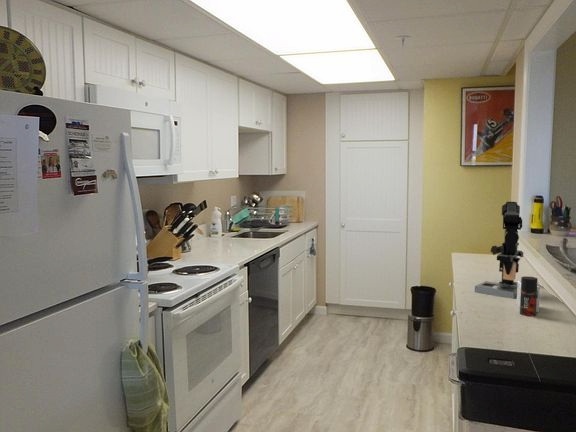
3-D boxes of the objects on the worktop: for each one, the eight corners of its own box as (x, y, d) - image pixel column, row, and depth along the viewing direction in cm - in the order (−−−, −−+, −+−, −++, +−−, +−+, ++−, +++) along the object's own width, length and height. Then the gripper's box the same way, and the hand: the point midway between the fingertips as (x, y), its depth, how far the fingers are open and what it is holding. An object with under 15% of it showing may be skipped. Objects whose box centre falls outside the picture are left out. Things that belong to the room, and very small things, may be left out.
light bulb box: (539, 312, 212) (540, 286, 211) (521, 311, 213) (522, 286, 212) (532, 305, 222) (533, 281, 221) (515, 304, 223) (516, 280, 222)
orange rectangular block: (506, 277, 244) (506, 261, 244) (515, 278, 242) (516, 262, 241) (503, 279, 241) (503, 262, 241) (512, 280, 239) (513, 263, 238)
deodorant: (535, 313, 211) (537, 277, 209) (536, 317, 205) (538, 280, 204) (519, 311, 213) (521, 276, 211) (520, 315, 207) (521, 278, 206)
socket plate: (485, 287, 256) (486, 279, 256) (523, 293, 244) (523, 285, 244) (474, 292, 246) (474, 284, 246) (513, 298, 234) (513, 290, 233)
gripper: (500, 237, 252) (499, 268, 253) (486, 241, 238) (484, 274, 240) (524, 239, 244) (523, 271, 246) (510, 243, 231) (509, 277, 232)
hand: (509, 273), depth 241 cm, fingers closed on orange rectangular block, 4 cm apart
